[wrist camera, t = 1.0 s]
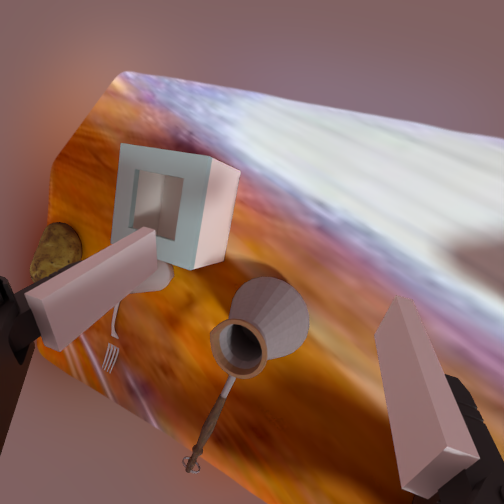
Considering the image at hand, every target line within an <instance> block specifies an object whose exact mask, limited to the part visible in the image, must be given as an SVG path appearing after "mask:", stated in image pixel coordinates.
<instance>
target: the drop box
mask: <svg viewBox="0 0 504 504" xmlns="http://www.w3.org/2000/svg"><path fill="white" fill-rule="evenodd" d="M240 173H241V171H239V170H237V169H235V168H233V167H231V166H229V165H227V164H225V163H222V162H220V161H218V160H216V159H214V158H212V157H210V156H205V155H198V154H192V153H185V152H178V151H172V150H165V149H158V148H151V147H145V146H138V145H131V144H125V143H121V146H120V156H119V166H118V175H117V185H116V195H115V205H114V215H113V224H112V234H111V244H114V243H116V242H117V241H119V240H121V239H123V238H124V237H126V236H128V235H130V234H132V233H133V232H135V231H137V230H139V229H140V228H142V227H147V228H150V229H154V230H155V232H156V250H157V259H158V260H161V261H164V262H167V263H170V264H173V265H176V266H179V267H182V268H185V269H188V270H193V269H197V268H200V267H204V266H208V265H211V264H215V263H218V262H222V261H224V257H225V252H226V247H227V242H228V236H229V231H230V226H231V220H232V215H233V210H234V205H235V199H236V194H237V189H238V184H239V178H240Z"/></svg>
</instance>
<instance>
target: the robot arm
mask: <svg viewBox="0 0 504 504" xmlns="http://www.w3.org/2000/svg"><path fill="white" fill-rule="evenodd" d="M156 270H158V267H157V250H156V232H155V230H154V229H150V228H147V227H142V228H140V229H139V230H137V231H135V232H133V233H132V234H130V235H128V236H126V237H124V238H123V239H121V240H119V241H117V242H116V243H114V244H112V245H110V246H108V247H107V248H105V249H103V250H101V251H99V252H98V253H96V254H94V255H92V256H91V257H89V258H87V259H85V260H83V261H82V260H81V261H78V262H75V263H71V264H68V265H66V266H65V267H63V268H61V269H59V270H58V271H57V272H56V271H55V272H54V273H52V274H50V275H49V276H48V277H47V276H46V277H44V278H43V279H41V280H39V281H37V282H35V283H34V284H32V285H30V286H28V287H26V288H24V289H22V290H21V291H19V292H17V293H15V294H13V291H12V289H11V286H10V285H9V282H8V280H7V279H6V278H5V277H2V276H0V455H1V452H2V448H3V445H4V442H5V439H6V436H7V433H8V430H9V426H10V423H11V420H12V417H13V414H14V411H15V408H16V405H17V402H18V398H19V395H20V392H21V389H22V386H23V383H24V380H25V377H26V374H27V370H28V367H29V364H30V361H31V358H32V355H33V352H34V349H35V344H34V340H35V339H37V338H38V337H40V336H41V337H42V340H43V342H44V345H45V346H47V347H49V348H52V349H54V350H57V351H59V352H60V351H62V350H63V349H64V348H65V347H66V346H68V345H69V344H70V343H71V342H72V341H73V340H75V339H76V338H77V337H78V336H79V335H81V334H82V333H83V332H84V331H85V330H87V329H88V328H89V327H90V326H91V325H92V324H94V323H95V322H96V321H97V320H98V319H100V318H101V317H102V316H103V315H104V314H105V313H107V312H108V311H109V310H110V309H111V308H113V307H114V306H115V305H116V304H117V303H118V302H120V301H121V300H122V299H123V298H124V297H126V296H127V295H128V294H129V293H130V292H131V291H133V290H134V289H135V288H136V287H137V286H139V285H140V284H141V283H142V282H143V281H145V280H146V279H147V278H148V277H149V276H150V275H152V274H153V273H154V272H155V271H156ZM374 336H375V342H376V348H377V353H378V359H379V364H380V370H381V376H382V381H383V387H384V392H385V398H386V404H387V409H388V415H389V420H390V426H391V432H392V437H393V443H394V448H395V454H396V460H397V465H398V471H399V476H400V482H401V488H402V489H404V490H406V491H409V492H411V493H414V494H416V495H415V497H414V499H413V502H412V504H504V461H503V459H502V457H501V455H500V453H499V451H498V449H497V447H496V445H495V443H494V441H493V439H492V437H491V435H490V433H489V431H488V429H487V427H486V425H485V424H484V423H483V419H482V416H481V414H480V412H479V411H478V410H477V406H476V404H475V402H474V400H473V398H472V396H471V394H470V392H469V391H468V390H467V389H466V388H465V386H464V385H463V384H462V383H461V382H460V380H459V379H458V378H456V377H453V376H450V375H446V374H444V372H443V370H442V367H441V365H440V363H439V360H438V358H437V356H436V353H435V351H434V349H433V346H432V344H431V342H430V339H429V337H428V335H427V332H426V330H425V328H424V325H423V323H422V321H421V318H420V316H419V313H418V311H417V309H416V306H415V304H414V302H413V300H411V299H408V298H404V297H400V296H397V295H396V296H395V298H394V299H393V301H392V303H391V305H390V307H389V309H388V311H387V312H386V314H385V316H384V318H383V320H382V322H381V324H380V325H379V327H378V329H377V331H376V333H375V335H374Z"/></svg>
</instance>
